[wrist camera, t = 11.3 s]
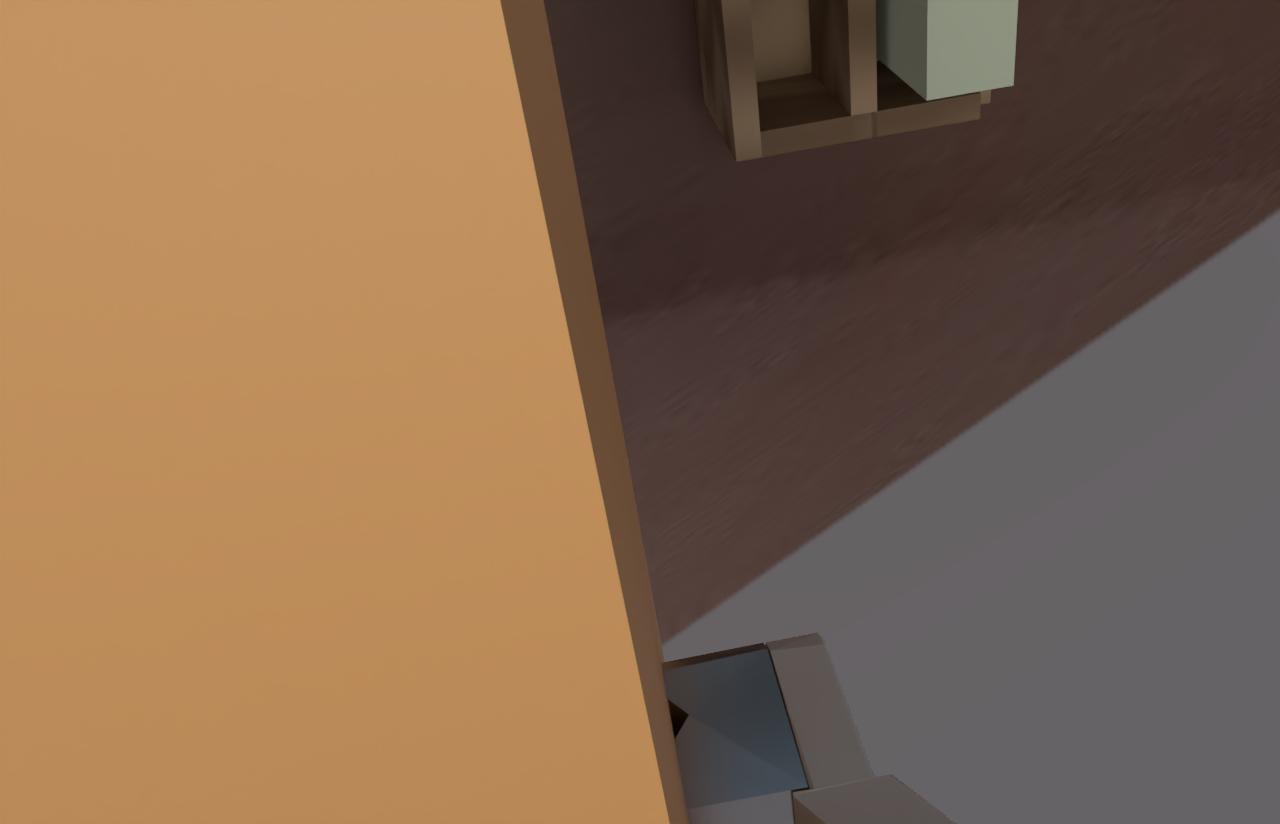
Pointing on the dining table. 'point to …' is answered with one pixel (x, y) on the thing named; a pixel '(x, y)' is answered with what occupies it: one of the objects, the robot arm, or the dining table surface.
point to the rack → (807, 77)
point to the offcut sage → (948, 44)
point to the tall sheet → (310, 428)
